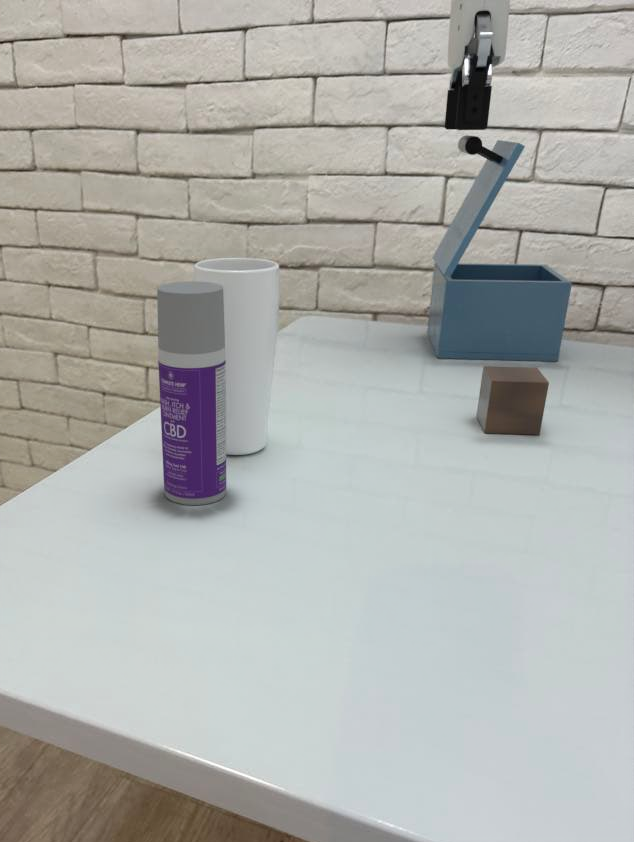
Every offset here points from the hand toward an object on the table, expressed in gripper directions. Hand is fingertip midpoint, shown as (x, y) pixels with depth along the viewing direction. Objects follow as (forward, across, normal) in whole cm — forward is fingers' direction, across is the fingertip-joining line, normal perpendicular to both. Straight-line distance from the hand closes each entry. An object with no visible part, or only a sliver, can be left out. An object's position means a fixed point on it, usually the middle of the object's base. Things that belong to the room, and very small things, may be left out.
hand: (464, 129), depth 90 cm
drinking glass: (+24, -37, +22) cm, 49 cm away
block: (+24, -29, -2) cm, 38 cm away
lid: (+8, 0, -2) cm, 8 cm away
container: (+24, -47, +24) cm, 58 cm away
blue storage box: (+24, 0, -6) cm, 25 cm away
